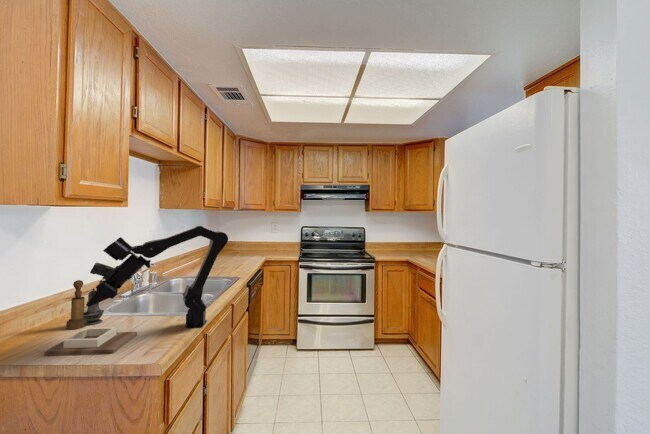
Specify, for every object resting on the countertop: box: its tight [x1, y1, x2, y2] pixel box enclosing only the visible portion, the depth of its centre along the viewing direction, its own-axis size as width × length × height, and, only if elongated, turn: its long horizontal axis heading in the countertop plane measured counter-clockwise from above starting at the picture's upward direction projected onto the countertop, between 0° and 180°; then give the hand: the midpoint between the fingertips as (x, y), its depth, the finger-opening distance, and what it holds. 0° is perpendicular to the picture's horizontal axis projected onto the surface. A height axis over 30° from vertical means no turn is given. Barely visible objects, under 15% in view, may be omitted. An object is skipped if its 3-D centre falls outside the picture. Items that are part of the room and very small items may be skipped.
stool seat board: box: [43, 327, 138, 356], centre depth 97 cm, size 20×14×4 cm
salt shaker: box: [82, 288, 105, 327], centre depth 99 cm, size 6×6×12 cm
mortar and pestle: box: [65, 279, 86, 330], centre depth 112 cm, size 7×6×18 cm
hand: (88, 304), depth 98 cm, fingers closed on salt shaker, 4 cm apart
